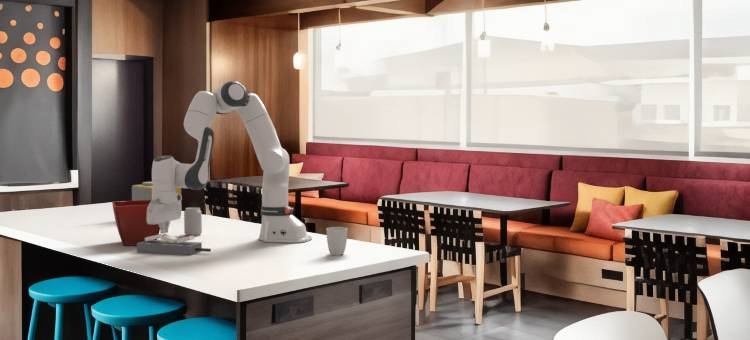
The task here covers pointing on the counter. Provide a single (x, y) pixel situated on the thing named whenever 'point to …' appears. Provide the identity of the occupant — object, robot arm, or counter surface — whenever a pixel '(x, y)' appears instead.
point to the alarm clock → (146, 191)
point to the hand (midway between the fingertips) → (164, 233)
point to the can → (192, 221)
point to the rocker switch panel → (170, 247)
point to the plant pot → (133, 221)
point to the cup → (336, 240)
